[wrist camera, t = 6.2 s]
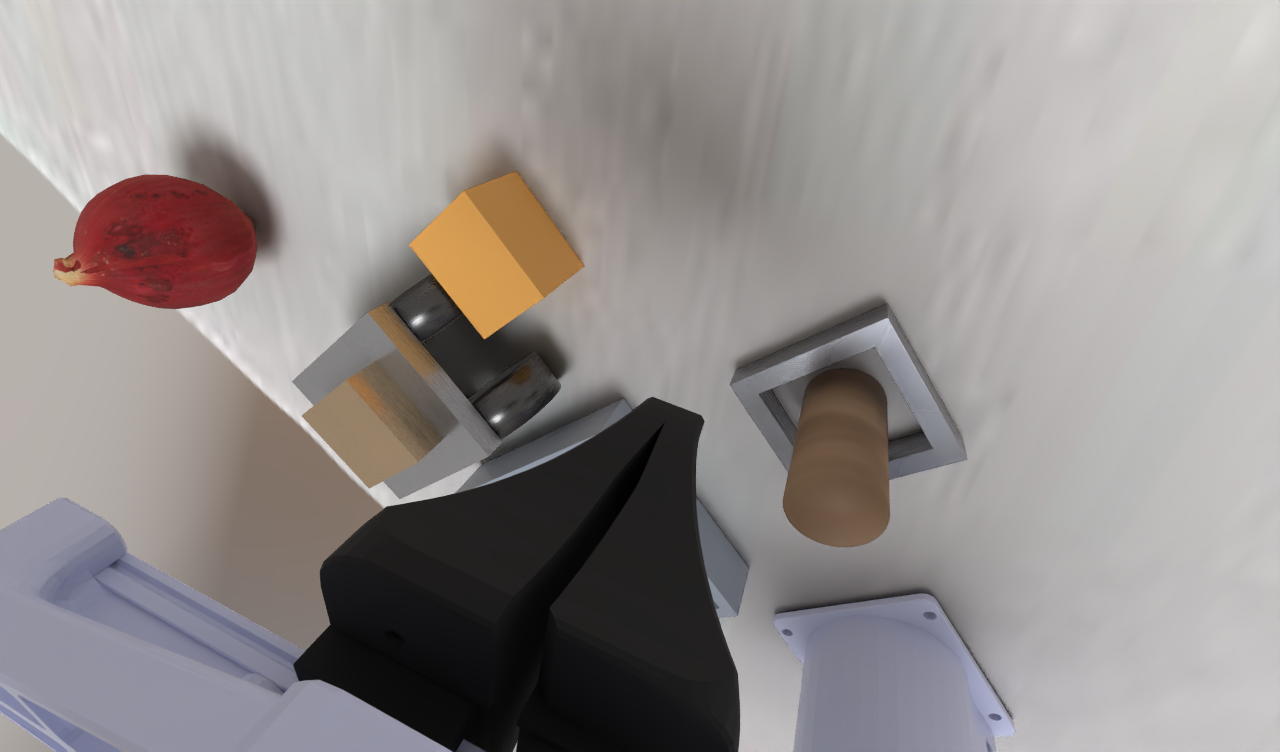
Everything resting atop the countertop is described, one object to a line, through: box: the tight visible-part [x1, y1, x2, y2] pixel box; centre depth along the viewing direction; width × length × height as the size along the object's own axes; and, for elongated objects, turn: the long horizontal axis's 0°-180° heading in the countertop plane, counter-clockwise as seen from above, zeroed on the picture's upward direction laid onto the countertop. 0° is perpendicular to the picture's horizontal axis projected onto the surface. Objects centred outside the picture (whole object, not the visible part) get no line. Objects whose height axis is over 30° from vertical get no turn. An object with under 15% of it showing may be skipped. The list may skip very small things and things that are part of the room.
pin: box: [783, 369, 890, 547], centre depth 19 cm, size 3×3×6 cm
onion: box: [54, 175, 257, 309], centre depth 24 cm, size 6×6×8 cm
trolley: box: [292, 274, 561, 499], centre depth 24 cm, size 7×10×7 cm
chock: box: [409, 171, 584, 339], centre depth 21 cm, size 4×4×4 cm
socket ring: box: [730, 304, 967, 480], centre depth 21 cm, size 6×6×1 cm
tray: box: [456, 398, 749, 618], centre depth 28 cm, size 11×11×3 cm
